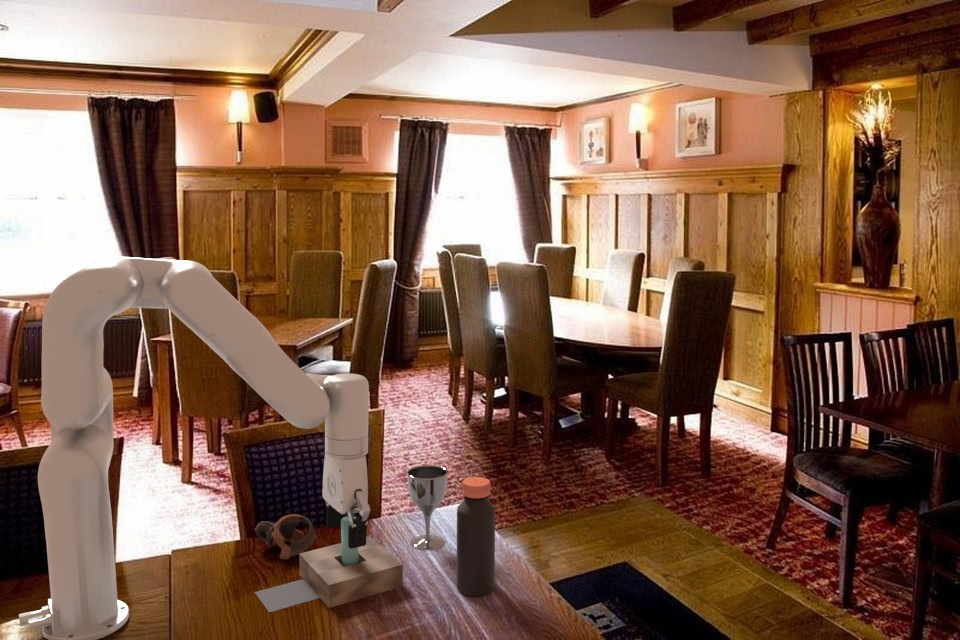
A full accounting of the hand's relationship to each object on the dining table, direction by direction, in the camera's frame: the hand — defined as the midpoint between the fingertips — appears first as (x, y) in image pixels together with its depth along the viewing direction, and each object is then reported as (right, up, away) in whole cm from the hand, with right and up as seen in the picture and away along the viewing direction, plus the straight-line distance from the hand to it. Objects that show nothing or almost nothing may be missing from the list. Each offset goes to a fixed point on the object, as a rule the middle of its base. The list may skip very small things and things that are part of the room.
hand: (345, 536), depth 140 cm
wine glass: (+13, -7, +18) cm, 24 cm away
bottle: (+23, -9, 0) cm, 25 cm away
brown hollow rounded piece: (-14, -7, +14) cm, 21 cm away
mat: (-9, -10, -4) cm, 14 cm away
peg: (+1, -9, +2) cm, 9 cm away
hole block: (+1, -9, +2) cm, 9 cm away
